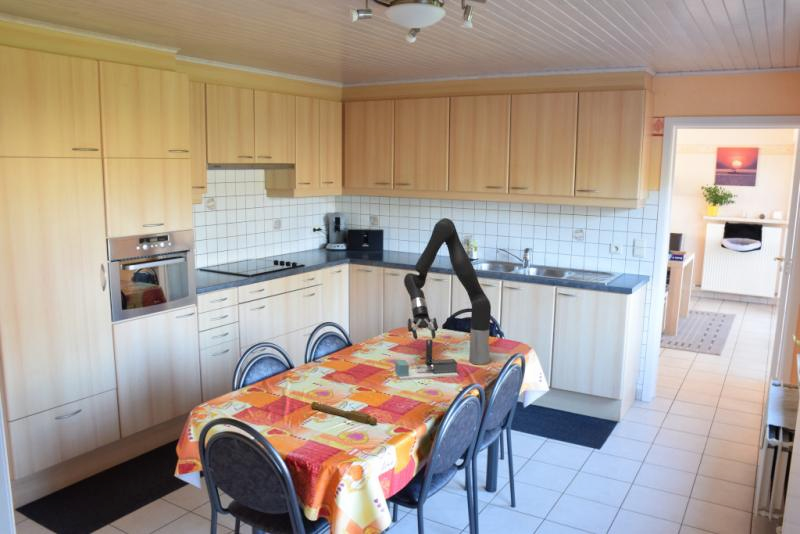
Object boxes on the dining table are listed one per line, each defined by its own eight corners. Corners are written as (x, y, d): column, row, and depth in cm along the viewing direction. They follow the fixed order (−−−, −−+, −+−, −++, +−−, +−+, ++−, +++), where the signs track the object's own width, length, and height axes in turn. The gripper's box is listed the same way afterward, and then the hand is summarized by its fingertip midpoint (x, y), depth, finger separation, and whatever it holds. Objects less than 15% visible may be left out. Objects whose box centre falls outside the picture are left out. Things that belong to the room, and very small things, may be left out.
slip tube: (450, 368, 305) (451, 338, 302) (453, 370, 301) (454, 340, 299) (415, 370, 301) (416, 339, 298) (417, 372, 297) (418, 341, 295)
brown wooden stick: (315, 400, 258) (378, 416, 243) (315, 407, 258) (378, 424, 243) (310, 402, 255) (374, 419, 240) (310, 410, 256) (373, 427, 241)
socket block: (404, 370, 302) (404, 359, 301) (408, 376, 294) (408, 364, 293) (395, 371, 301) (395, 360, 300) (399, 376, 293) (399, 365, 292)
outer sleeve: (453, 369, 306) (453, 359, 305) (456, 372, 301) (457, 362, 300) (430, 370, 303) (431, 360, 303) (434, 373, 298) (434, 363, 298)
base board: (451, 369, 309) (451, 367, 309) (458, 376, 298) (458, 374, 298) (394, 372, 302) (394, 370, 302) (399, 380, 292) (399, 377, 292)
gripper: (406, 305, 310) (412, 334, 300) (435, 304, 313) (441, 333, 304) (403, 313, 316) (408, 342, 306) (431, 312, 319) (437, 341, 310)
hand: (425, 338), depth 305 cm, fingers open, 8 cm apart
